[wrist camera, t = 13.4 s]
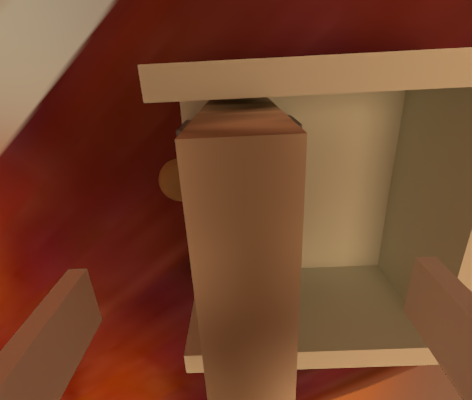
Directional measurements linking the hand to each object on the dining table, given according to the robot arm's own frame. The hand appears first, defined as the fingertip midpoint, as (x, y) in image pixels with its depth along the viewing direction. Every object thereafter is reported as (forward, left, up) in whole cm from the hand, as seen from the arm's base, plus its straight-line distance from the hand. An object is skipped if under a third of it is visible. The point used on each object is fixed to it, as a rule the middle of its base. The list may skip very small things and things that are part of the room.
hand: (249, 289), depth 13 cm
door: (0, 0, -12) cm, 12 cm away
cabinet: (0, +4, -14) cm, 14 cm away
